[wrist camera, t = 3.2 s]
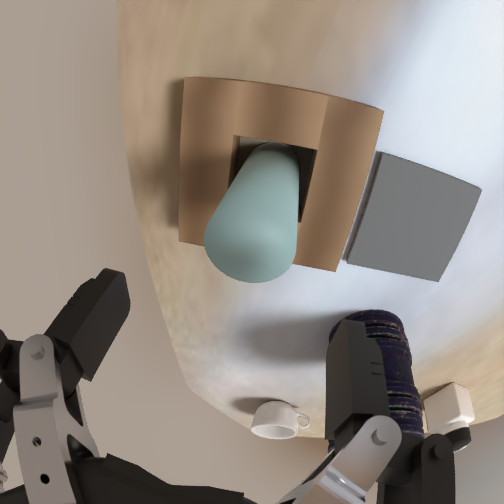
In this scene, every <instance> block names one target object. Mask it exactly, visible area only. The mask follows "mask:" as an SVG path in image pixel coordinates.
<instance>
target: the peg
mask: <svg viewBox="0 0 504 504" xmlns="http://www.w3.org/2000/svg"><path fill="white" fill-rule="evenodd" d="M298 198H299V162H298V159H297V157H296V155H295V154H294V153H293V151H292V150H290V149H289V148H288V147H286V146H284V145H282V144H279V143H265V144H262V145H260V146H258V147H256V148H255V149H254V150H253V151H252V152H251V154H250V155H249V157H248V158H247V160H246V161H245V163H244V165H243V166H242V168H241V169H240V171H239V173H238V174H237V176H236V177H235V179H234V181H233V182H232V184H231V185H230V187H229V189H228V190H227V192H226V194H225V195H224V197H223V199H222V200H221V202H220V204H219V205H218V207H217V209H216V210H215V212H214V214H213V215H212V217H211V219H210V220H209V222H208V224H207V226H206V229H205V232H204V246H205V250H206V253H207V255H208V257H209V258H210V260H211V262H212V263H213V264H214V265H215V266H216V267H217V268H218V269H219V270H220V271H221V272H223V273H224V274H226V275H227V276H229V277H231V278H234V279H236V280H239V281H243V282H249V283H260V282H266V281H270V280H273V279H275V278H277V277H279V276H280V275H282V274H283V273H284V272H285V271H286V270H287V269H288V268H289V267H290V266H291V264H292V262H293V260H294V258H295V254H296V244H297V223H298Z"/></svg>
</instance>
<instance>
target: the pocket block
mask: <svg viewBox="0 0 504 504" xmlns="http://www.w3.org/2000/svg"><path fill="white" fill-rule="evenodd" d="M383 114H384V111H382V110H380V109H378V108H376V107H373V106H370V105H366V104H363V103H359V102H356V101H352V100H348V99H344V98H340V97H336V96H332V95H328V94H324V93H319V92H314V91H309V90H304V89H299V88H294V87H288V86H282V85H276V84H269V83H262V82H254V81H246V80H236V79H225V78H211V77H185V79H184V90H183V103H182V118H181V135H180V158H179V241H180V242H185V243H190V244H195V245H200V246H204V232H205V229H206V226H207V224H208V222H209V220H210V219H211V217H212V215H213V214H214V212H215V210H216V209H217V207H218V205H219V204H220V202H221V200H222V199H223V197H224V195H225V194H226V192H227V190H228V189H229V187H230V185H231V184H232V182H233V181H234V179H235V177H236V169H237V160H238V152H239V143H240V136H244V137H251V138H257V139H263V140H269V141H275V142H281V143H286V144H291V145H297V146H302V147H306V148H311V149H314V151H313V156H312V160H311V165H310V170H309V174H308V179H307V183H306V188H305V192H304V197H303V201H302V206H301V207H300V206H298V223H297V244H296V254H295V258H294V260H293V262H292V264H297V265H302V266H307V267H312V268H317V269H322V270H328V271H333V272H336V269H337V266H338V264H339V261H340V258H341V255H342V253H343V250H344V247H345V244H346V241H347V238H348V235H349V232H350V230H351V227H352V224H353V220H354V217H355V214H356V211H357V208H358V205H359V202H360V199H361V195H362V192H363V189H364V185H365V182H366V179H367V175H368V172H369V168H370V165H371V161H372V157H373V154H374V150H375V146H376V142H377V138H378V135H379V131H380V126H381V122H382V118H383Z"/></svg>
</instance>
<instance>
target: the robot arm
mask: <svg viewBox="0 0 504 504" xmlns="http://www.w3.org/2000/svg"><path fill="white" fill-rule="evenodd" d="M129 311H130V298H129V293H128V288H127V283H126V277H125V274H124V273H123V272H119V271H115V270H111V269H108V268H105V269H103V270H102V271H101V272H100V274H99V275H98V276H97V277H96V279H93V278H91V279H89V280H88V281H86V282H85V283H83V284H82V285H81V286H80V287H79V288H78V289H77V291H76V292H75V293H74V294H73V297H71V298H70V300H69V301H68V302H67V305H65V306H64V307H63V309H62V310H61V311H60V313H59V314H58V315H57V317H56V318H55V319H54V321H53V322H52V324H51V325H50V326H49V328H48V329H47V331H46V332H45V333H44V334H43V335H42V334H36V335H33V336H30V337H29V338H28V339H26V340H25V341H24V342H23V341H15V340H9V339H7V337H6V336H5V334H4V332H3V331H2V330H0V379H1V380H2V381H1V383H0V504H257V503H255V502H253V501H252V500H250V499H247V498H245V497H243V496H244V493H240V492H234V491H229V490H224V489H219V488H214V487H210V486H181V485H171V484H168V483H166V482H164V481H162V480H160V479H159V478H157V477H156V476H154V475H152V474H151V473H149V472H147V471H146V470H144V469H143V468H141V467H140V466H138V465H135V464H133V463H130V462H128V461H125V460H123V459H120V458H118V457H115V456H113V455H110V454H108V453H107V456H106V458H103V457H100V456H99V452H98V449H97V446H96V444H95V441H94V439H93V438H92V436H91V434H90V432H89V429H88V426H87V422H86V418H85V413H84V409H83V404H82V399H81V394H80V389H79V385H78V382H79V381H80V379H81V378H84V379H86V380H88V381H90V382H91V381H92V379H93V377H94V375H95V373H96V371H97V369H98V367H99V366H100V364H101V362H102V360H103V358H104V356H105V355H106V353H107V351H108V349H109V347H110V346H111V344H112V342H113V340H114V339H115V337H116V335H117V333H118V332H119V330H120V328H121V326H122V325H123V323H124V321H125V320H126V318H127V316H128V314H129ZM384 374H385V371H384V366H383V358H382V352H381V349H380V347H379V346H378V344H377V342H376V341H375V339H374V338H368V337H367V335H366V328H365V324H364V322H360V321H353V320H347V319H343V320H342V321H341V323H340V325H339V327H338V329H337V331H336V333H335V335H334V337H333V338H332V340H331V342H330V344H329V347H328V350H327V355H326V417H325V439H326V440H327V439H328V440H334V449H333V450H332V451H331V452H330V453H329V454H328V455H327V456H326V457H325V458H324V459H323V461H322V462H321V463H320V464H319V465H318V466H317V467H316V468H315V469H314V470H313V471H312V472H311V473H310V474H309V475H308V476H307V477H306V478H305V479H304V480H303V481H302V482H301V483H300V484H299V485H298V486H296V487H295V488H294V489H293V490H291V491H290V492H289V493H288V494H286V495H285V496H284V497H283V498H282V499H281V500H279V501H278V502H277V503H276V504H365V499H364V497H365V495H366V493H367V492H368V491H369V489H370V488H371V486H372V485H373V484H374V482H375V481H376V482H378V492H377V503H376V504H455V466H454V451H453V446H452V443H451V441H450V440H449V439H448V438H447V437H446V436H445V435H443V434H438V433H436V434H432V435H430V436H428V437H427V438H425V439H424V438H420V437H417V436H414V435H410V434H407V433H405V432H403V431H401V430H400V427H399V426H398V424H397V423H396V422H395V421H394V420H393V419H391V416H390V411H389V402H388V393H387V385H386V378H385V376H384ZM14 431H15V436H16V443H17V449H18V455H19V461H20V466H21V471H22V475H23V480H24V484H23V485H21V486H18V487H16V488H13V489H11V490H8V491H4V488H3V482H6V481H7V478H8V476H7V473H6V471H5V470H3V466H2V462H3V459H4V457H5V454H6V452H7V449H8V446H9V444H10V441H11V439H12V436H13V434H14Z"/></svg>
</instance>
